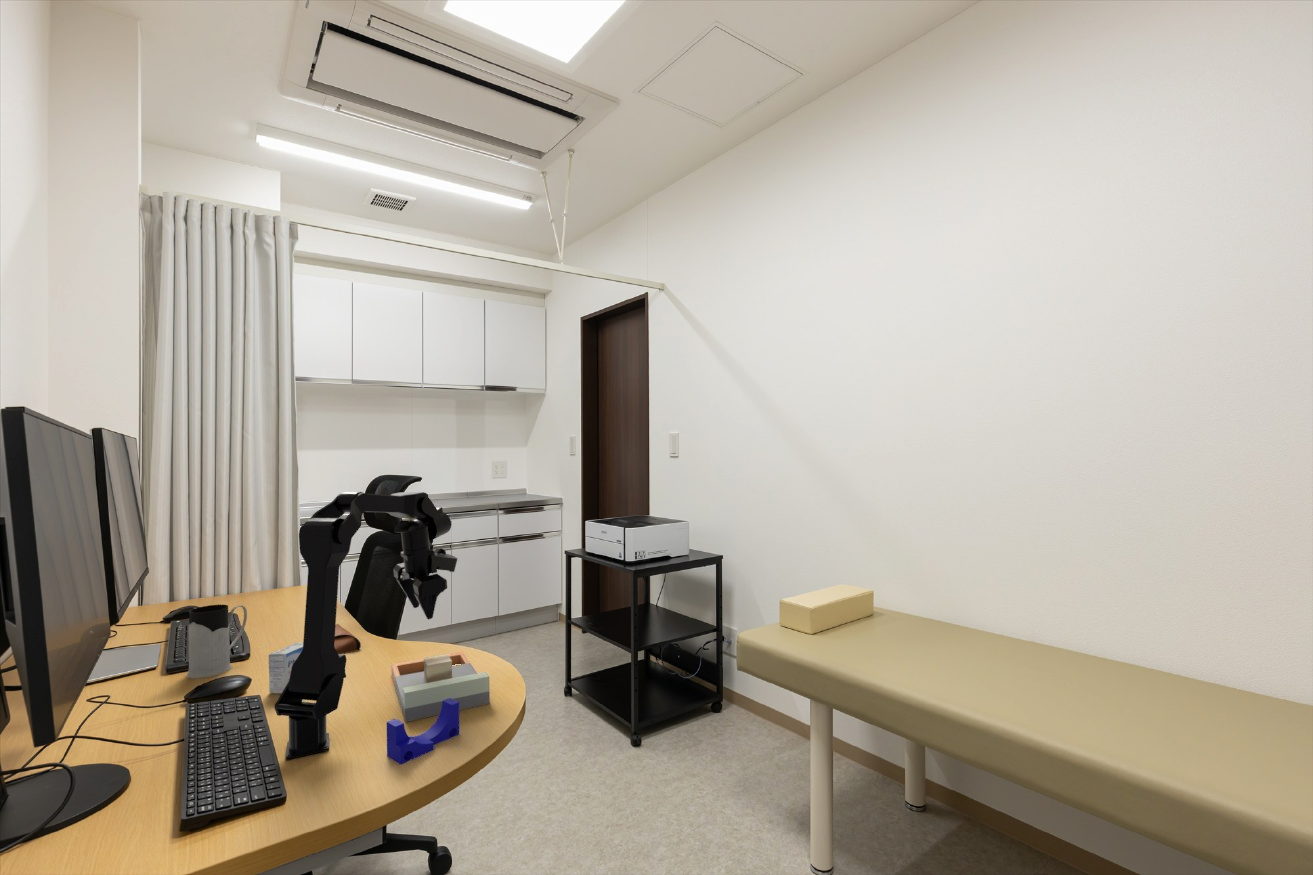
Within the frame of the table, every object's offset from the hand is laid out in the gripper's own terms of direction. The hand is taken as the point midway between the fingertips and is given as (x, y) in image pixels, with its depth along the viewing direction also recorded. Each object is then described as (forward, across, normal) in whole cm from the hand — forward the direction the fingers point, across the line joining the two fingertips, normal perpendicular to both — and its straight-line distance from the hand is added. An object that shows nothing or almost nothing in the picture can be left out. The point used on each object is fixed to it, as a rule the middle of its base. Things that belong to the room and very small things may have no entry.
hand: (423, 612), depth 138 cm
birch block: (+11, -11, +1) cm, 15 cm away
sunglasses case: (+17, +39, +12) cm, 44 cm away
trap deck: (+14, -10, +2) cm, 17 cm away
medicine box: (+13, +13, +26) cm, 32 cm away
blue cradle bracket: (+11, -34, +12) cm, 38 cm away
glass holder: (+14, +40, +37) cm, 56 cm away
